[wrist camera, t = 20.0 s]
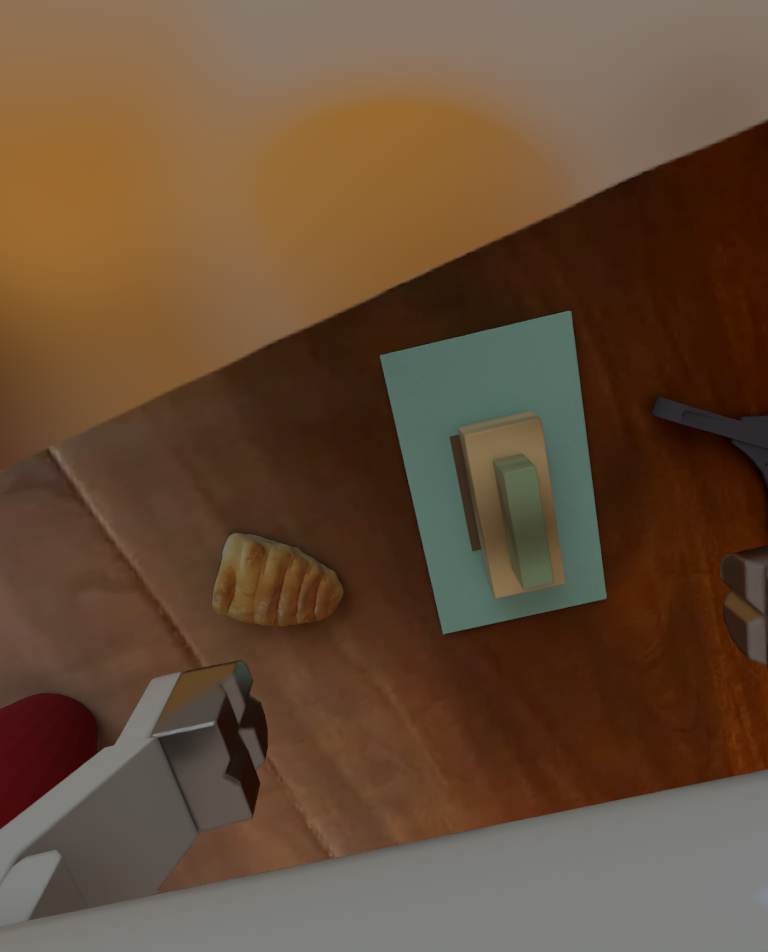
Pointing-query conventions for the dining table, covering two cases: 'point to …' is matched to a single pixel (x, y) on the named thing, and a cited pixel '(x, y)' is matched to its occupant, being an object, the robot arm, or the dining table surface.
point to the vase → (40, 748)
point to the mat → (443, 468)
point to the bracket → (723, 428)
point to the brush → (513, 503)
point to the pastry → (273, 583)
